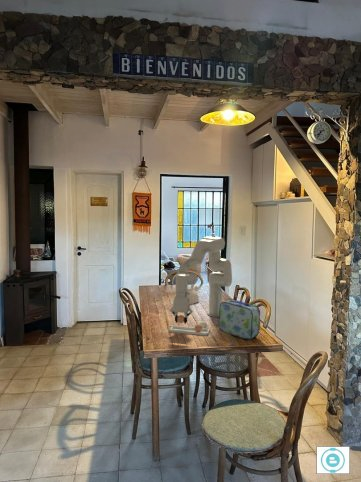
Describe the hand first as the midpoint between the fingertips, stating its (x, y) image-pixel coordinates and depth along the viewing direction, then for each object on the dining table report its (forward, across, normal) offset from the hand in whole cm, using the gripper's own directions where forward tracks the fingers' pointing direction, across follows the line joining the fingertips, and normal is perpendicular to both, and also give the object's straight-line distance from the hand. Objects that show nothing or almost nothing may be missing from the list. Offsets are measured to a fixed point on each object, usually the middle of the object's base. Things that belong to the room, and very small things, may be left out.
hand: (181, 322), depth 209 cm
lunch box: (+6, -36, -6) cm, 37 cm away
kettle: (+6, +13, -76) cm, 77 cm away
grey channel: (+6, -6, 0) cm, 8 cm away
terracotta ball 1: (0, 0, 0) cm, 0 cm away
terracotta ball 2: (+5, -11, 0) cm, 12 cm away
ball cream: (+6, -13, -9) cm, 16 cm away
